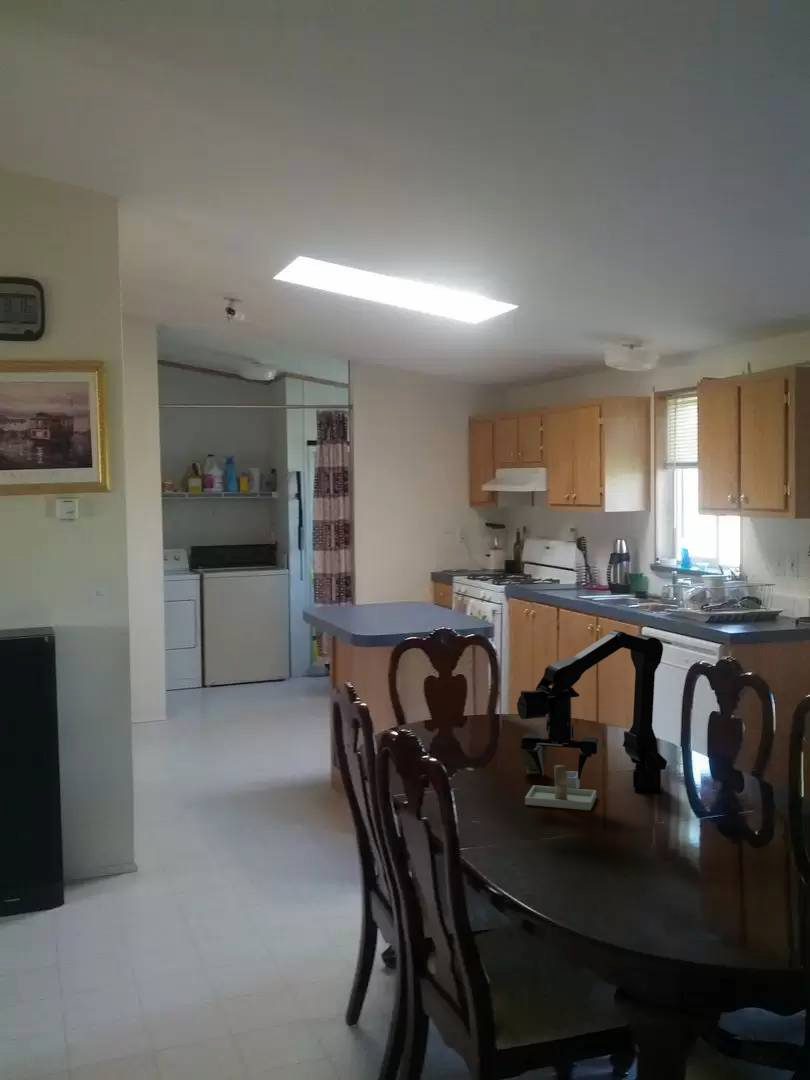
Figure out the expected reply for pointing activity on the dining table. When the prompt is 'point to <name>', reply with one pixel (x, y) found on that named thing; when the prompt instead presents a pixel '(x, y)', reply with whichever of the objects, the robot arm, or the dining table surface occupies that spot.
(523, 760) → the cup
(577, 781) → the grey square sleeve
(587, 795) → the tray
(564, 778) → the dowel
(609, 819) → the dining table surface
